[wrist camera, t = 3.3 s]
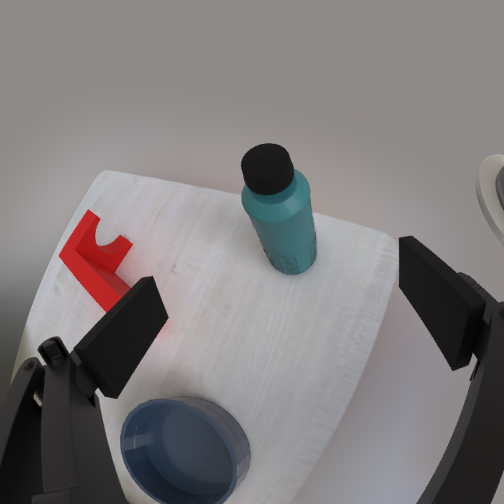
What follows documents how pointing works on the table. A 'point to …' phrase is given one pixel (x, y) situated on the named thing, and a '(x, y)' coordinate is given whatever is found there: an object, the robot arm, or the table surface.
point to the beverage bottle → (279, 207)
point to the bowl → (184, 450)
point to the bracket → (96, 262)
